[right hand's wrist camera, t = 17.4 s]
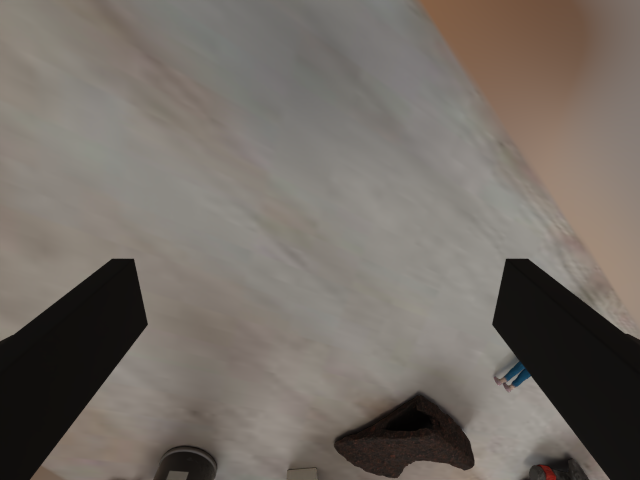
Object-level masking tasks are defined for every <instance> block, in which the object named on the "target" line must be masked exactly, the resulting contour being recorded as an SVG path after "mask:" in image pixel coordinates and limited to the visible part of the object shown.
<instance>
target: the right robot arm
mask: <svg viewBox="0 0 640 480" xmlns="http://www.w3.org/2000/svg"><path fill="white" fill-rule="evenodd" d="M147 325H148V323H147V318H146V314H145V309H144V304H143V299H142V295H141V290H140V285H139V281H138V276H137V271H136V266H135V262H134V259H111V260H110V261H109V262H107V263H106V264H105V265H103V266H102V267H101V268H100V269H98V270H97V271H96V272H94V273H93V274H92V275H91V276H89V277H88V278H87V279H85V280H84V281H83V282H81V283H80V284H79V285H78V286H76V287H75V288H74V289H72V290H71V291H70V292H69V293H67V294H66V295H65V296H63V297H62V298H61V299H59V300H58V301H57V302H56V303H54V304H53V305H52V306H50V307H49V308H48V309H46V310H45V311H44V312H43V313H41V314H40V315H39V316H37V317H36V318H35V319H34V320H32V321H31V322H30V323H28V324H27V325H26V326H24V327H23V328H22V329H21V330H19V331H18V332H17V333H15V334H14V335H12V336H10V337H8V338H6V339H4V340H2V341H0V480H30V479H31V477H32V476H33V475H34V473H35V472H36V471H37V470H38V468H39V467H40V466H41V464H42V463H43V462H44V460H45V459H46V458H47V456H48V455H49V454H50V452H51V451H52V450H53V449H54V447H55V446H56V445H57V443H58V442H59V441H60V439H61V438H62V437H63V435H64V434H65V433H66V431H67V430H68V429H69V428H70V426H71V425H72V424H73V422H74V421H75V420H76V418H77V417H78V416H79V414H80V413H81V412H82V410H83V409H84V408H85V406H86V405H87V404H88V403H89V401H90V400H91V399H92V397H93V396H94V395H95V393H96V392H97V391H98V389H99V388H100V387H101V385H102V384H103V383H104V382H105V380H106V379H107V378H108V376H109V375H110V374H111V372H112V371H113V370H114V368H115V367H116V366H117V364H118V363H119V362H120V361H121V359H122V358H123V357H124V355H125V354H126V353H127V351H128V350H129V349H130V347H131V346H132V345H133V343H134V342H135V341H136V339H137V338H138V337H139V336H140V334H141V333H142V332H143V330H144V329H145V328H146V326H147ZM492 325H493V326H494V328H495V329H496V330H497V332H498V333H499V334H500V336H501V337H502V338H503V339H504V341H505V342H506V343H507V345H508V346H509V347H510V349H511V350H512V351H513V353H514V354H515V355H516V357H517V358H518V359H519V361H520V362H521V363H522V364H523V366H524V367H525V368H526V370H527V371H528V372H529V374H530V375H531V376H532V378H533V379H534V380H535V382H536V383H537V384H538V385H539V387H540V388H541V389H542V391H543V392H544V393H545V395H546V396H547V397H548V399H549V400H550V401H551V403H552V404H553V405H554V406H555V408H556V409H557V410H558V412H559V413H560V414H561V416H562V417H563V418H564V420H565V421H566V422H567V424H568V425H569V426H570V428H571V429H572V430H573V431H574V433H575V434H576V435H577V437H578V438H579V439H580V441H581V442H582V443H583V445H584V446H585V447H586V449H587V450H588V451H589V452H590V454H591V455H592V456H593V458H594V459H595V460H596V462H597V463H598V464H599V466H600V467H601V468H602V470H603V471H604V472H605V474H606V475H607V476H608V477H609V479H610V480H640V340H639V339H637V338H635V337H633V336H631V335H629V334H625V333H623V332H622V331H621V330H619V329H618V328H617V327H616V326H614V325H613V324H612V323H610V322H609V321H608V320H606V319H605V318H604V317H603V316H601V315H600V314H599V313H597V312H596V311H595V310H594V309H592V308H591V307H590V306H588V305H587V304H586V303H584V302H583V301H582V300H581V299H579V298H578V297H577V296H575V295H574V294H573V293H571V292H570V291H569V290H568V289H566V288H565V287H564V286H562V285H561V284H560V283H559V282H557V281H556V280H555V279H553V278H552V277H551V276H549V275H548V274H547V273H546V272H544V271H543V270H542V269H540V268H539V267H538V266H537V265H535V264H534V263H533V262H531V261H530V260H529V259H506V262H505V266H504V271H503V276H502V281H501V285H500V290H499V295H498V299H497V304H496V309H495V314H494V318H493V323H492Z"/></svg>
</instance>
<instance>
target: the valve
mask: <svg viewBox="0 0 640 480" xmlns="http://www.w3.org/2000/svg"><path fill="white" fill-rule="evenodd" d="M568 464H569V470H568V472H566V473H565V472H561V471H557V470H554V469H550V467H548V466H544V465H540V464H539V465H537V466H535V465H534V466H532V467H531V469H530V471H529V477H530V480H589V479H588V477H587V476H586V474H585V473H584V471H583V470H582V468H581V467H580V466H579V464H578V463H577V462H576V461H575V460H574V459H570V460H568Z"/></svg>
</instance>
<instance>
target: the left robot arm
mask: <svg viewBox="0 0 640 480" xmlns="http://www.w3.org/2000/svg"><path fill="white" fill-rule="evenodd" d="M216 472H217V465H216V463H215V461H214V459H213V458H212V457H211V456H210V455H209V454H207V453H206V452H204V451H202V450H200V449H197V448H193V447H178V448H174V449H171V450H169V451H168V452H167V453H165V454H164V456H163V457H162V459H161V462H160V464H159V468H158V470H157V472H156V475H155V477H154V479H153V480H214V478H215V476H216Z"/></svg>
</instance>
